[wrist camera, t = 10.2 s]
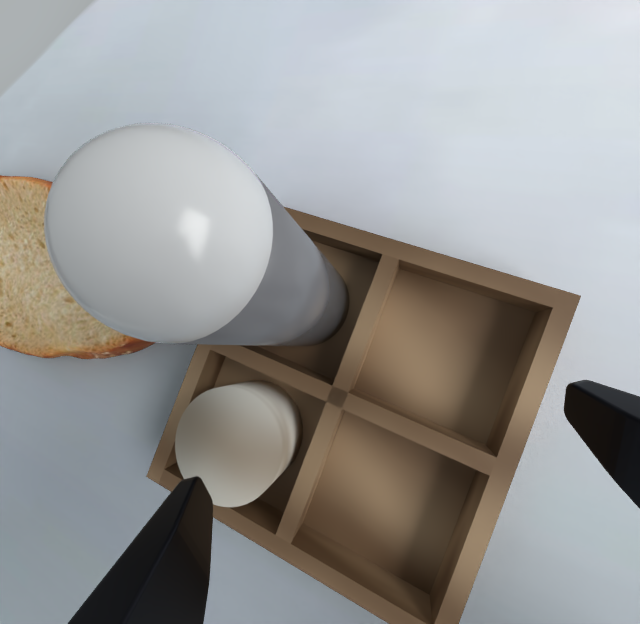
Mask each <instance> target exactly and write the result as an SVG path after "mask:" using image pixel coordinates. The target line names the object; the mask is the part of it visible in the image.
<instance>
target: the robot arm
mask: <svg viewBox="0 0 640 624" xmlns="http://www.w3.org/2000/svg"><path fill="white" fill-rule="evenodd" d="M564 413H565V416H566V418H567V420H568V421H569V423H570V424H571V425H572V426H573V428H574V429H575V430H576V432H577V433H578V434H579V436H580V437H581V438H582V440H583V441H584V442H585V443H586V445H587V446H588V447H589V449H590V450H591V451H592V453H593V454H594V455H595V457H596V458H597V459H598V460H599V462H600V463H601V464H602V466H603V467H604V468H605V470H606V471H607V472H608V473H609V475H610V476H611V477H612V478H613V479H614V481H615V482H616V483H617V484H618V485H619V486H620V487H621V489H622V490H623V491H624V492H625V493H626V494H627V495H628V496H629V497H630V499H631V500H632V501H633V502H634V503H635V504H636V505H637V506H638V507H639V508H640V397H639V396H636V395H633V394H630V393H627V392H624V391H621V390H617V389H614V388H611V387H608V386H605V385H602V384H599V383H596V382H593V381H589V380H582V381H578V382H573V383H570V384H568V386H567V387H566V394H565V403H564ZM212 523H213V501H212V498H211V496H210V494H209V492H208V490H207V488H206V486H205V484H204V483H203V481H202V479H201V478H200V477H199V476H195V477H191V478H187V479H183V480H181V481H180V482H179V483H178V484H177V486H176V487H175V488H174V489H173V491H172V492H171V493H170V495H169V496H168V497H167V498H166V500H165V501H164V502H163V503H162V505H161V506H160V507H159V508H158V510H157V511H156V512H155V514H154V515H153V516H152V517H151V519H150V520H149V521H148V522H147V524H146V525H145V526H144V527H143V529H142V530H141V531H140V533H139V534H138V535H137V536H136V538H135V539H134V540H133V541H132V543H131V544H130V545H129V546H128V548H127V549H126V550H125V552H124V553H123V554H122V555H121V557H120V558H119V559H118V560H117V562H116V563H115V564H114V565H113V567H112V568H111V569H110V571H109V572H108V573H107V574H106V576H105V577H104V578H103V579H102V581H101V582H100V583H99V584H98V586H97V587H96V588H95V590H94V591H93V592H92V593H91V595H90V596H89V597H88V598H87V600H86V601H85V602H84V603H83V605H82V606H81V607H80V609H79V610H78V611H77V612H76V614H75V615H74V616H73V617H72V619H71V620H70V621H69V622H68V624H203V621H204V615H205V608H206V601H207V594H208V586H209V577H210V562H211V542H212Z"/></svg>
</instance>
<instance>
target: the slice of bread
mask: <svg viewBox="0 0 640 624" xmlns="http://www.w3.org/2000/svg"><path fill="white" fill-rule="evenodd" d="M52 183H53V182H50V181H46V180H42V179H38V178H33V177H19V176H12V177H11V176H1V175H0V346H2V347H5V348H7V349H10V350H14V351H18V352H20V353H24V354H27V355H33V356H38V357H42V358H55V357H60V356H73V357H77V358H81V359H93V358H109V357H114V356H119V355H124V354H130V353H134V352H137V351H140V350H142V349H144V348H146V347H148V346H150V345H152V344H154V343H156V342H149V341H144V340H140V339H137V338H134V337H130V336H127V335H124V334H122V333H120V332H118V331H116V330H113V329H112V328H110V327H108V326H106V325H104V324H103V323H101V322H100V321H98V320H97V319H95V318H94V317H93V316H91V315H90V314H89V313H88V312H86V311H85V310H84V309H83V308H82V307H81V306H80V305H79V304H78V303H77V302H76V301H75V300H74V299H73V297H72V296H71V295H70V294H69V292H68V291H67V290H66V289H65V288H64V286H63V284H62V283H61V281H60V279H59V278H58V276H57V274H56V272H55V270H54V268H53V265H52V263H51V261H50V258H49V254H48V251H47V246H46V241H45V234H44V212H45V206H46V201H47V198H48V194H49V191H50V189H51V186H52Z"/></svg>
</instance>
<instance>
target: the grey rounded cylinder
mask: <svg viewBox="0 0 640 624" xmlns="http://www.w3.org/2000/svg"><path fill="white" fill-rule="evenodd" d="M44 234H45V241H46V246H47V251H48V254H49V258H50V261H51V263H52V265H53V268H54V270H55V272H56V274H57V276H58V278H59V279H60V281H61V283H62V284H63V286H64V288H65V289H66V290H67V291H68V292H69V294H70V295H71V296H72V297H73V299H74V300H75V301H76V302H77V303H78V304H79V305H80V306H81V307H82V308H83V309H84V310H85V311H86V312H88V313H89V314H90V315H91V316H93V317H94V318H95V319H97V320H98V321H100V322H101V323H103V324H104V325H106V326H108V327H110V328H112V329H113V330H116V331H118V332H120V333H122V334H124V335H127V336H130V337H134V338H137V339H140V340H144V341H149V342H158V343H166V344H207V345H256V346H315V345H318V344H321V343H323V342H326V341H327V340H329V339H330V338H332V337H333V336H334V335H335V334H336V333H337V332H338V331H339V330H340V329H341V327H342V326H343V324H344V322H345V320H346V318H347V315H348V311H349V303H350V300H349V292H348V288H347V285H346V283H345V281H344V279H343V278H342V276H341V275H340V274H339V272H338V271H337V270H336V269H335V268H334V266H333V265H332V264H331V263H330V262H329V261H328V259H327V258H326V257H325V256H324V255H323V253H322V252H321V251H320V250H319V249H318V248H317V246H316V245H315V244H314V243H313V242H312V240H311V239H310V238H309V237H308V236H307V234H306V233H305V232H304V231H303V230H302V229H301V227H300V226H299V225H298V224H297V223H296V221H295V220H294V219H293V218H292V217H291V215H290V214H289V213H288V212H287V211H286V210H285V208H284V207H283V206H282V205H281V204H280V202H279V201H278V200H277V199H276V198H275V196H274V195H273V194H272V193H271V192H270V191H269V189H268V188H267V187H266V186H265V185H264V183H263V182H262V181H261V180H260V179H259V178H258V176H257V175H256V174H255V173H254V172H253V170H252V169H251V168H250V167H249V166H248V165H247V164H246V163H245V162H244V161H243V160H242V159H241V158H240V157H239V156H238V155H237V154H235V153H234V152H233V151H232V150H231V149H229V148H228V147H226V146H225V145H223V144H222V143H220V142H218V141H217V140H215V139H213V138H211V137H209V136H207V135H204V134H202V133H200V132H197V131H195V130H192V129H189V128H185V127H181V126H176V125H171V124H163V123H139V124H132V125H128V126H123V127H119V128H115V129H112V130H109V131H106V132H104V133H102V134H101V135H99V136H97V137H95V138H93V139H91V140H89V141H88V142H87V143H85V144H84V145H82V146H81V147H80V148H79V149H77V150H76V151H75V152H74V153H73V154H72V155H71V156H70V157H69V158H68V159H67V161H66V162H65V163H64V165H63V166H62V167H61V169H60V171H59V172H58V174H57V175H56V177H55V179H54V181H53V183H52V186H51V189H50V191H49V194H48V198H47V201H46V206H45V212H44Z"/></svg>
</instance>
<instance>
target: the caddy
mask: <svg viewBox="0 0 640 624" xmlns="http://www.w3.org/2000/svg"><path fill="white" fill-rule="evenodd" d="M284 208H285V210H286V211H287V212H288V213H289V214H290V215H291V217H292V218H293V219H294V220H295V221H296V223H297V224H298V225H299V226H300V227H301V229H302V230H303V231H304V232H305V233H306V234H307V236H308V237H309V238H310V239H311V240H312V242H313V243H314V244H315V245H316V246H317V248H318V249H319V250H320V251H321V252H322V253H323V255H324V256H325V257H326V258H327V259H328V261H329V262H330V263H331V264H332V265H333V266H334V268H335V269H336V270H337V271H338V272H339V274H340V275H341V276H342V278H343V279H344V281H345V283H346V285H347V288H348V292H349V300H350V303H349V311H348V315H347V318H346V320H345V322H344V324H343V326H342V327H341V329H340V330H339V331H338V332H337V333H336V334H335V335H334V336H333V337H332V338H330V339H329V340H327V341H326V342H323V343H321V344H318V345H315V346H256V345H207V344H197V347H196V349H195V352H194V355H193V357H192V360H191V362H190V365H189V367H188V370H187V373H186V375H185V378H184V380H183V383H182V386H181V388H180V391H179V393H178V396H177V399H176V401H175V404H174V406H173V409H172V411H171V414H170V417H169V419H168V422H167V424H166V427H165V430H164V432H163V435H162V437H161V440H160V443H159V445H158V448H157V450H156V453H155V455H154V458H153V461H152V463H151V466H150V468H149V471H148V474H147V476H146V477H148V478H149V479H151V480H153V481H154V482H156V483H158V484H159V485H161V486H163V487H164V488H166V489H168V490H169V491H171V492H172V491H173V489H174V488H175V487H176V486H177V484H178V483H179V482H180V481H181V480H183V479H187V478H191V477H195V476H199V477H200V478H201V479H202V481H203V483H204V484H205V486H206V488H207V490H208V492H209V494H210V496H211V498H212V501H213V517H214V518H215V519H217V520H219V521H220V522H222V523H224V524H225V525H227V526H229V527H230V528H232V529H234V530H235V531H237V532H239V533H240V534H242V535H244V536H245V537H247V538H248V539H250V540H252V541H253V542H255V543H257V544H258V545H260V546H262V547H263V548H265V549H267V550H268V551H270V552H272V553H273V554H275V555H277V556H278V557H280V558H281V559H283V560H285V561H286V562H288V563H290V564H291V565H293V566H295V567H296V568H298V569H300V570H301V571H303V572H305V573H306V574H308V575H310V576H311V577H313V578H314V579H316V580H318V581H319V582H321V583H323V584H324V585H326V586H328V587H329V588H331V589H333V590H334V591H336V592H338V593H339V594H341V595H343V596H344V597H346V598H347V599H349V600H351V601H352V602H354V603H356V604H357V605H359V606H361V607H362V608H364V609H366V610H367V611H369V612H371V613H372V614H374V615H376V616H377V617H379V618H380V619H382V620H384V621H385V622H387V623H389V624H459V621H460V618H461V616H462V613H463V610H464V608H465V605H466V602H467V600H468V597H469V594H470V592H471V589H472V586H473V584H474V581H475V578H476V576H477V573H478V570H479V568H480V565H481V562H482V560H483V557H484V554H485V551H486V549H487V546H488V543H489V541H490V538H491V535H492V533H493V530H494V527H495V525H496V522H497V519H498V517H499V514H500V511H501V509H502V506H503V503H504V501H505V498H506V495H507V493H508V490H509V487H510V485H511V482H512V479H513V477H514V474H515V471H516V469H517V466H518V463H519V461H520V458H521V455H522V453H523V450H524V447H525V445H526V442H527V439H528V436H529V434H530V431H531V428H532V426H533V423H534V420H535V418H536V415H537V412H538V410H539V407H540V404H541V402H542V399H543V396H544V394H545V391H546V388H547V386H548V383H549V380H550V378H551V375H552V372H553V370H554V367H555V364H556V362H557V359H558V356H559V354H560V351H561V348H562V346H563V343H564V340H565V338H566V335H567V332H568V330H569V327H570V324H571V322H572V319H573V316H574V313H575V311H576V308H577V305H578V303H579V300H580V297H581V296H580V295H576V294H573V293H570V292H566V291H563V290H560V289H556V288H553V287H550V286H546V285H543V284H540V283H536V282H533V281H530V280H526V279H523V278H520V277H516V276H513V275H510V274H506V273H503V272H500V271H496V270H493V269H490V268H486V267H483V266H480V265H476V264H473V263H470V262H466V261H463V260H460V259H456V258H453V257H450V256H446V255H443V254H440V253H436V252H433V251H430V250H426V249H423V248H420V247H416V246H413V245H410V244H406V243H403V242H400V241H396V240H393V239H390V238H386V237H383V236H380V235H376V234H373V233H370V232H366V231H363V230H360V229H356V228H353V227H350V226H346V225H343V224H340V223H336V222H333V221H330V220H326V219H323V218H320V217H316V216H313V215H310V214H306V213H303V212H300V211H296V210H293V209H290V208H286V207H284Z"/></svg>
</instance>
